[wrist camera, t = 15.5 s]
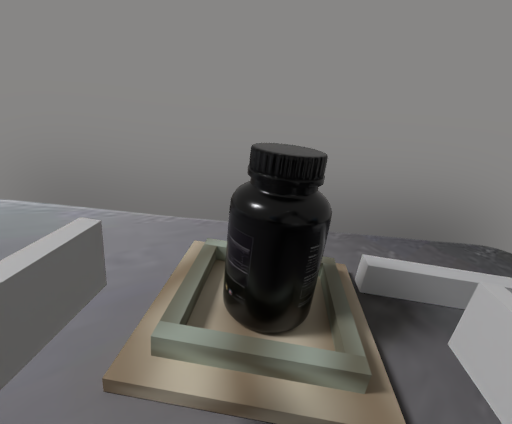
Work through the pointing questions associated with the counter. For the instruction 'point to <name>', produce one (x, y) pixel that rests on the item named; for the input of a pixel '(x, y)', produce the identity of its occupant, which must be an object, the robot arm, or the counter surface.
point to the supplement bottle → (276, 238)
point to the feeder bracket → (421, 281)
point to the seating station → (255, 353)
